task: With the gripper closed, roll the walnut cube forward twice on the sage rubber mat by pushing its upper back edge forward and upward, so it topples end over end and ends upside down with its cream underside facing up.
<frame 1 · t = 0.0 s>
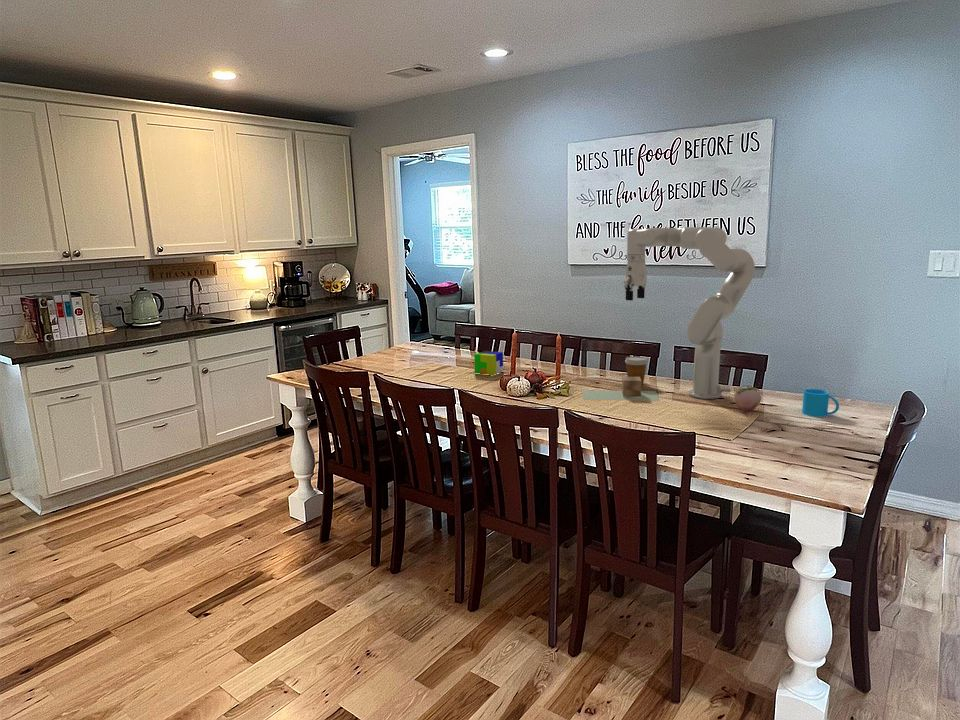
hand: (635, 299, 274), 37 cm above the table, tool pointing down, fingers open, 9 cm apart
disposable coffee cup: (635, 385, 279), on the table
mug: (820, 415, 231), on the table
mat: (619, 396, 262), on the table
decorative fruit: (745, 412, 236), on the table
walnut block: (631, 395, 261), resting on mat
puzzle toy: (489, 374, 309), on the table
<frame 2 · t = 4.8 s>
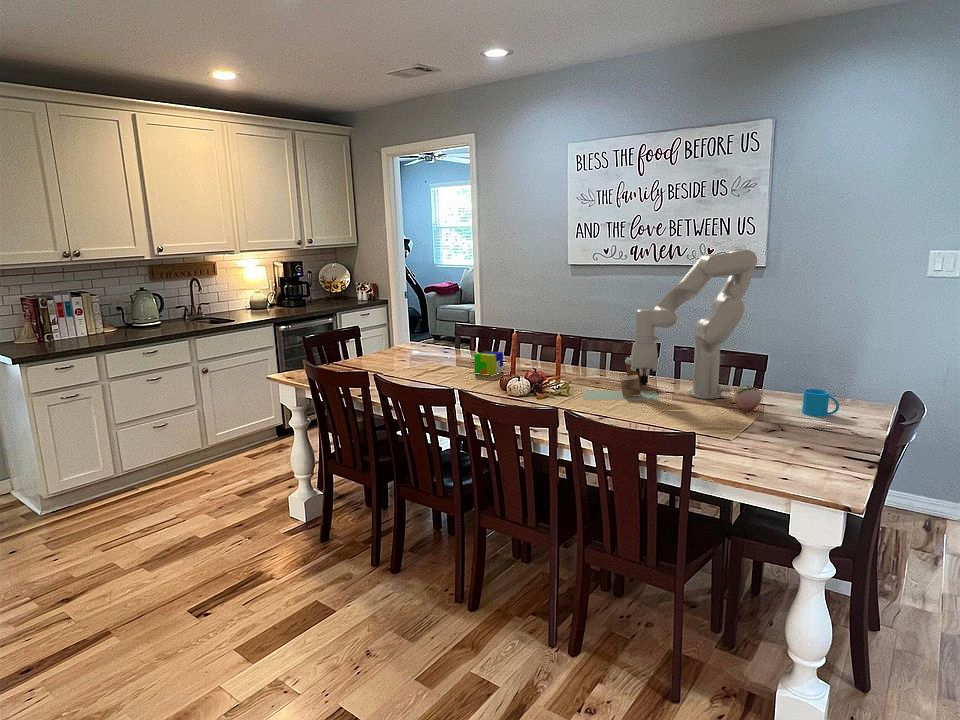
hand: (643, 384, 260), 5 cm above the table, tool pointing down, fingers closed
walnut block: (631, 394, 261), point 1 cm above the table, tilted 8°, touching mat
everything else where it was.
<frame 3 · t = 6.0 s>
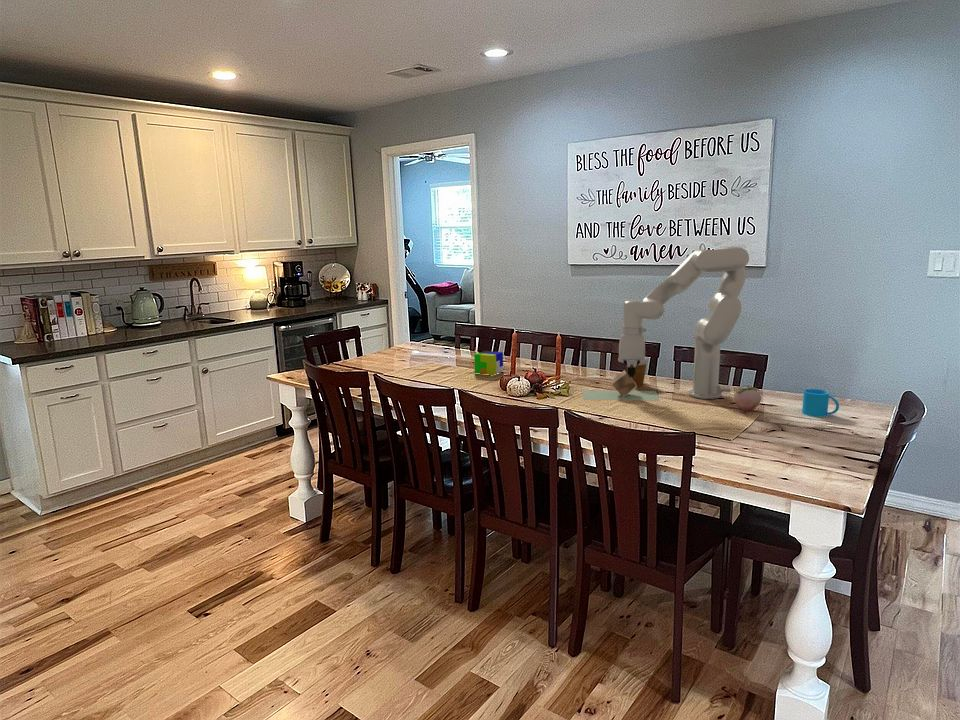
hand: (631, 376, 260), 8 cm above the table, tool pointing down, fingers closed
walnut block: (629, 390, 261), point 3 cm above the table, tilted 40°, touching gripper, mat
everything else where it was.
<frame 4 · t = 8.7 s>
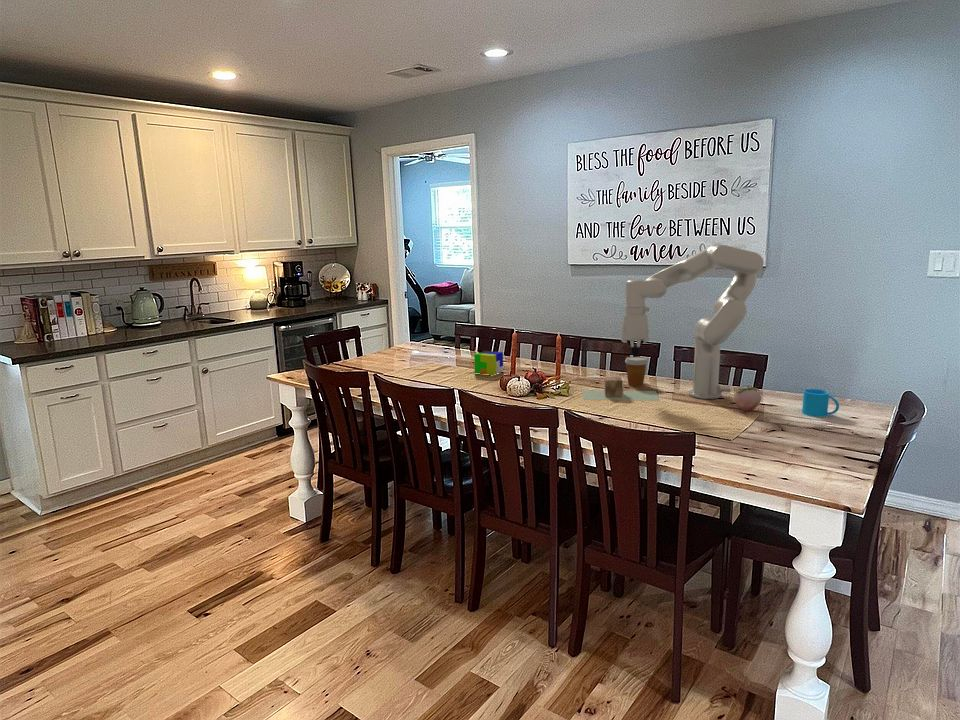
hand: (635, 356, 258), 17 cm above the table, tool pointing down, fingers closed
walnut block: (622, 386, 261), point 4 cm above the table, tilted 90°, touching mat
everything else where it was.
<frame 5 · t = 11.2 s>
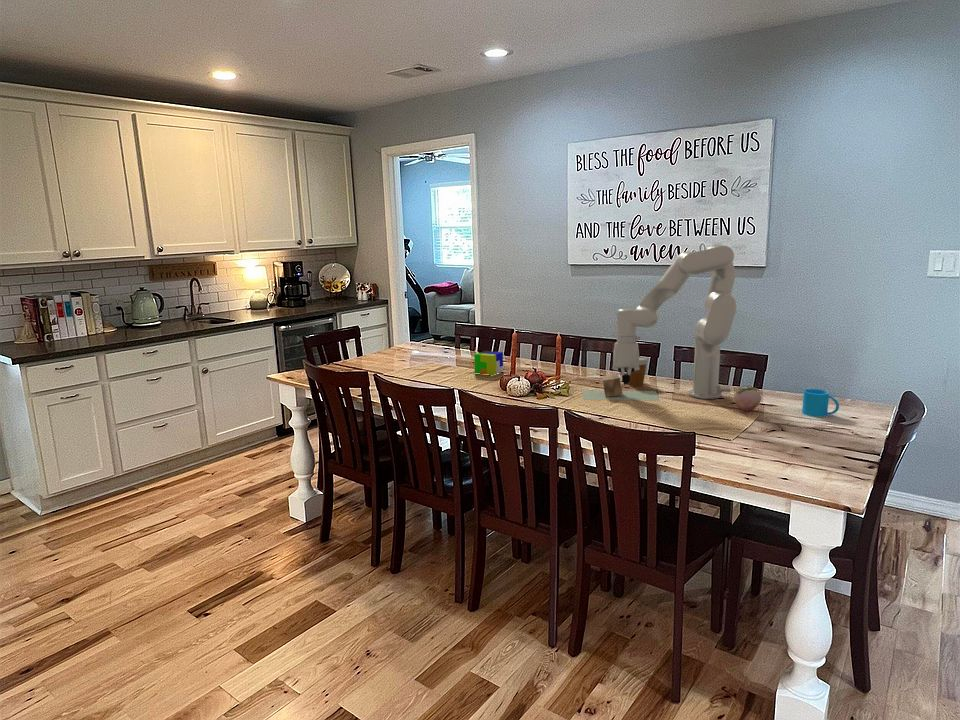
hand: (625, 384, 261), 5 cm above the table, tool pointing down, fingers closed
walnut block: (621, 384, 261), point 5 cm above the table, tilted 99°, touching gripper, mat
everything else where it was.
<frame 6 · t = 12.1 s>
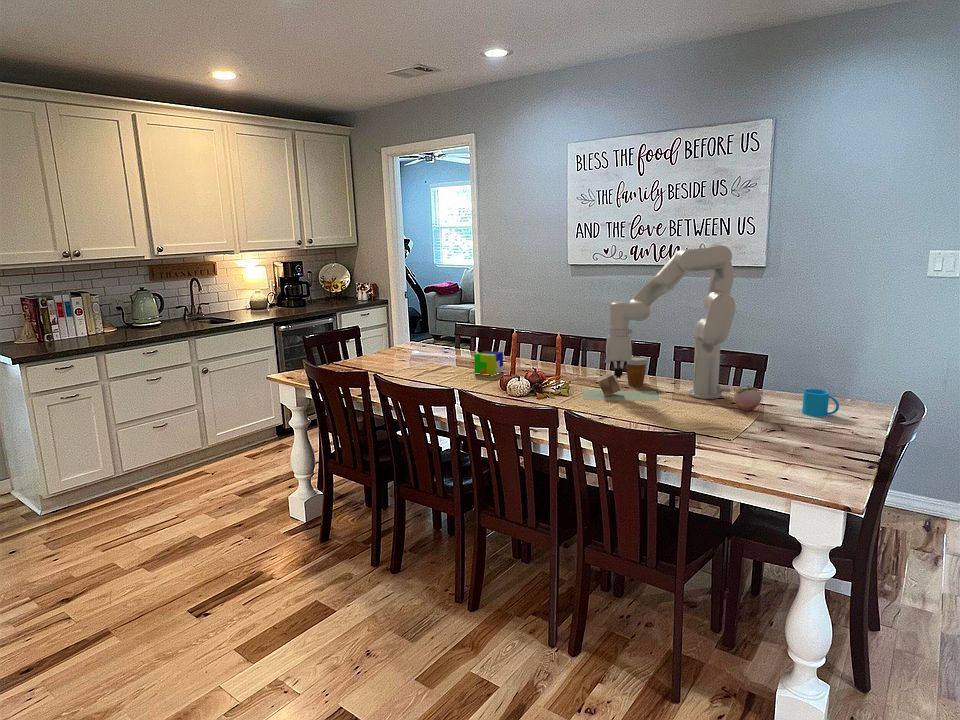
hand: (618, 377, 261), 8 cm above the table, tool pointing down, fingers closed
walnut block: (616, 380, 261), point 7 cm above the table, tilted 117°, touching gripper, mat
everything else where it was.
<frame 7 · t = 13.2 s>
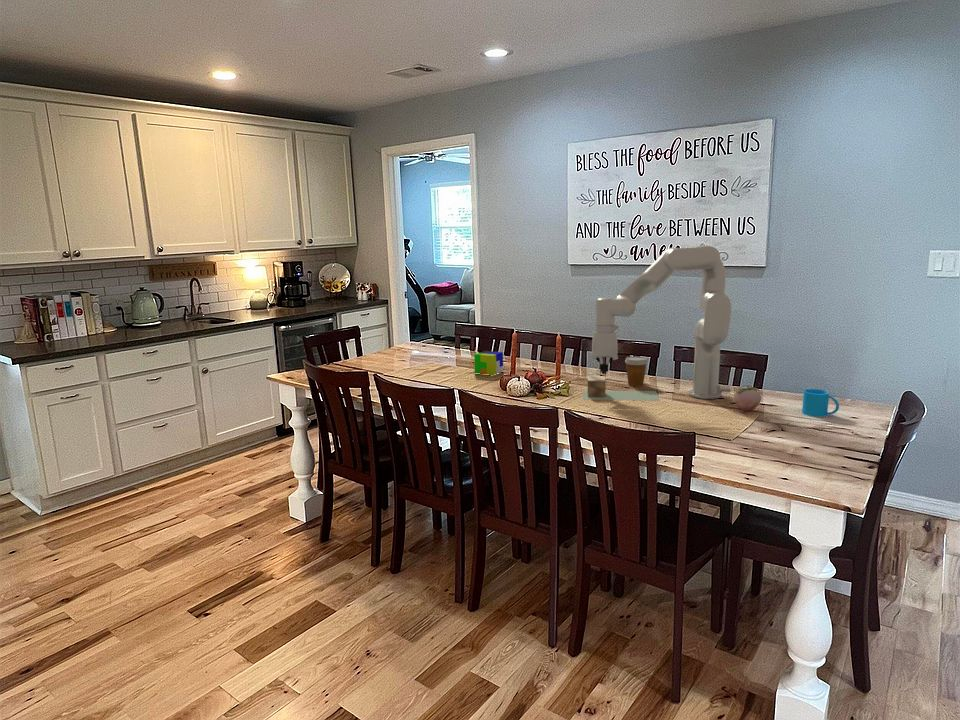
hand: (604, 373, 261), 10 cm above the table, tool pointing down, fingers closed
walnut block: (596, 378, 262), point 7 cm above the table, tilted 180°, touching mat
everything else where it was.
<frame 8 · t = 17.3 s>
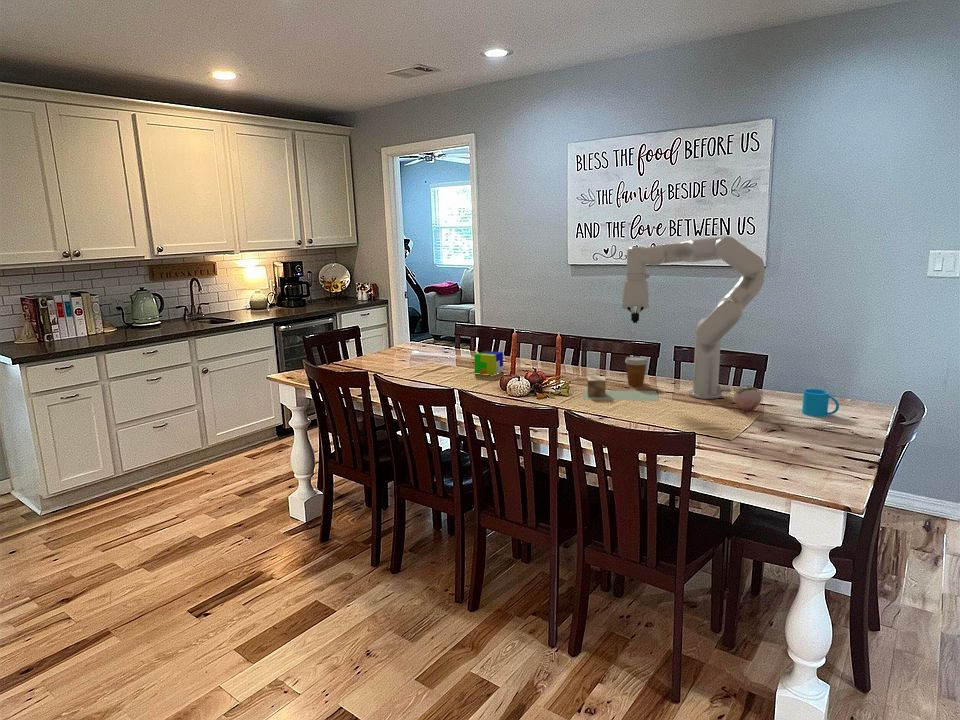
hand: (634, 322, 263), 29 cm above the table, tool pointing down, fingers closed
nothing on the table moved.
at the end: walnut block tilted 180°; walnut block point 7.4 cm above the table; walnut block inside the target area (1.5 cm from its centre), point 7.4 cm above the table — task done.
